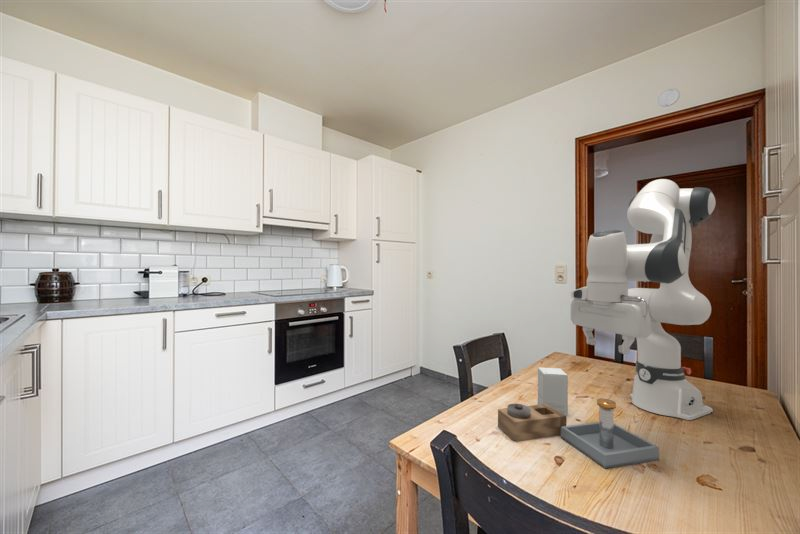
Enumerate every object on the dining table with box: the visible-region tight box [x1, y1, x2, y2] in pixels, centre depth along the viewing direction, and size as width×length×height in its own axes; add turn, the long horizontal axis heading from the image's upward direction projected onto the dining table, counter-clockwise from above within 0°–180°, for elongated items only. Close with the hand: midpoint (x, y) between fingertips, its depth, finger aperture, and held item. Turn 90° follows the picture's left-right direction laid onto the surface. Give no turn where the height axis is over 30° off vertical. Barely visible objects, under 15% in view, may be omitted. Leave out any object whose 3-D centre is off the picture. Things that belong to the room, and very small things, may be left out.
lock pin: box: [596, 397, 617, 449], centre depth 80 cm, size 4×4×11 cm
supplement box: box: [537, 366, 569, 416], centre depth 102 cm, size 7×7×13 cm
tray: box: [560, 421, 660, 470], centre depth 80 cm, size 16×14×3 cm
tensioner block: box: [497, 403, 567, 443], centre depth 89 cm, size 16×8×7 cm, turn 104°
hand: (606, 348), depth 81 cm, fingers open, 8 cm apart
